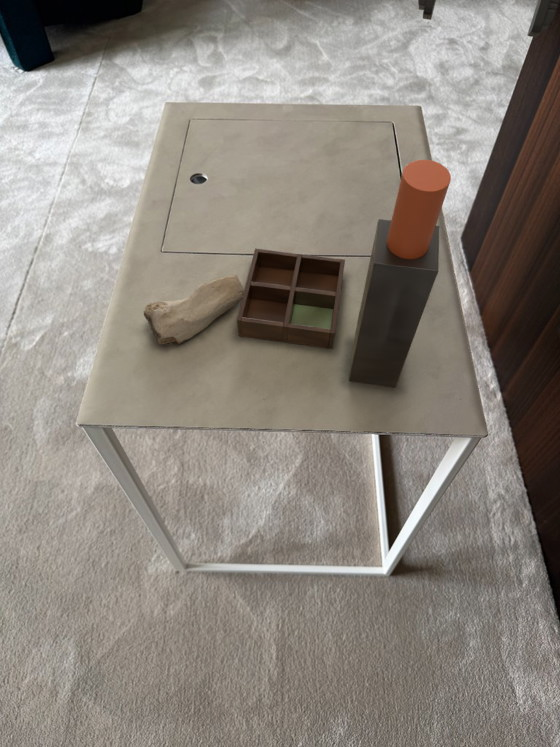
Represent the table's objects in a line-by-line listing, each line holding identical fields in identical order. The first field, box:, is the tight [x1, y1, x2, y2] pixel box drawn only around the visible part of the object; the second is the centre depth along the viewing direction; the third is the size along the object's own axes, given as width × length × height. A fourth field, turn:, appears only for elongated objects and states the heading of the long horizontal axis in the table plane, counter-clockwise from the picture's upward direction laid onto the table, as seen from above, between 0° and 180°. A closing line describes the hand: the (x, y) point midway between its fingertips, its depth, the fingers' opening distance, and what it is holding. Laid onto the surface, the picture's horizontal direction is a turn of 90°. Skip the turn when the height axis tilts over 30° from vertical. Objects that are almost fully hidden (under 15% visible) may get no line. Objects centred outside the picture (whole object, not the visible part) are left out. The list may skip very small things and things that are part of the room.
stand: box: [348, 218, 440, 388], centre depth 62 cm, size 6×6×22 cm
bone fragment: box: [143, 274, 245, 345], centre depth 73 cm, size 14×6×5 cm, turn 119°
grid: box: [236, 247, 346, 350], centre depth 75 cm, size 13×13×4 cm
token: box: [387, 159, 452, 259], centre depth 49 cm, size 4×4×8 cm
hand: (479, 25), depth 44 cm, fingers open, 8 cm apart
